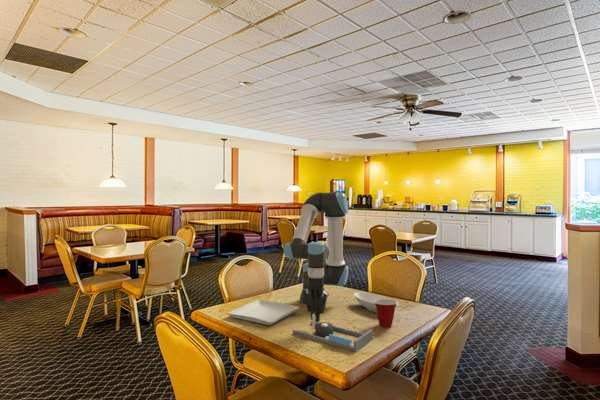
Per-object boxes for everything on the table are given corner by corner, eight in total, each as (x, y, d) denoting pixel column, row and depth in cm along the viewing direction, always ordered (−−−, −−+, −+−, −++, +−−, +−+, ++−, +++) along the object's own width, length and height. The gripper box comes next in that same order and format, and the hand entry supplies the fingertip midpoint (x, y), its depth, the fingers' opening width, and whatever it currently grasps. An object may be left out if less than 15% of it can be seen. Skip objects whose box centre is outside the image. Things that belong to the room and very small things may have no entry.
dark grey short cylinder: (311, 335, 157) (312, 325, 156) (321, 329, 163) (321, 320, 163) (327, 339, 152) (327, 329, 152) (336, 333, 159) (336, 323, 159)
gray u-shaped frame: (292, 333, 158) (292, 324, 158) (312, 323, 171) (312, 315, 171) (355, 352, 139) (355, 342, 139) (372, 339, 152) (373, 329, 152)
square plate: (258, 305, 201) (258, 298, 201) (300, 313, 187) (300, 306, 187) (226, 319, 177) (226, 311, 177) (271, 329, 164) (271, 321, 164)
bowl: (405, 315, 185) (405, 303, 185) (385, 320, 177) (385, 308, 177) (365, 301, 210) (365, 290, 210) (346, 305, 202) (346, 294, 202)
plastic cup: (388, 320, 176) (388, 296, 176) (401, 328, 166) (401, 302, 166) (369, 323, 172) (369, 298, 172) (382, 330, 162) (382, 305, 162)
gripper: (299, 275, 161) (298, 327, 161) (323, 279, 153) (322, 334, 153) (308, 273, 167) (308, 322, 167) (332, 277, 159) (331, 329, 159)
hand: (315, 328), depth 160 cm, fingers closed
